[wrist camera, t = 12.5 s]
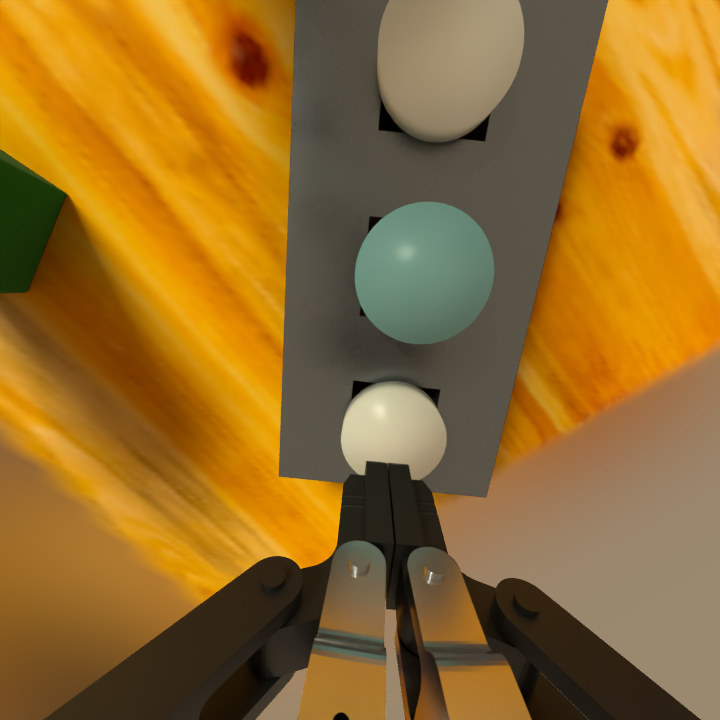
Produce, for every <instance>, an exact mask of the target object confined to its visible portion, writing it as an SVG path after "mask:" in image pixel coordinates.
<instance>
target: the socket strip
mask: <svg viewBox="0 0 720 720" xmlns="http://www.w3.org/2000/svg"><path fill="white" fill-rule="evenodd" d="M388 2H389V0H296V12H295V40H294V68H293V96H292V123H291V151H290V179H289V207H288V235H287V263H286V291H285V318H284V346H283V374H282V402H281V430H280V458H279V477H289V478H299V479H309V480H319V481H329V482H338V483H344V482H345V481H346V479H347V478H348V477H349V476H350V474H356V475H359V474H357V473H356V472H355V471H354V470H353V469H352V468H351V466H350V465H349V464H348V462H347V460H346V459H345V456H344V454H343V451H342V446H341V433H342V427H343V420H344V415H345V412H346V409H347V407H348V405H349V404H350V402H351V401H352V394H353V385H354V381H363V382H373V383H380V382H385V381H400V382H405V383H409V384H412V385H414V386H416V387H421V390H423V391H424V392H425V393H426V394H427V395H428V396H429V397H430V398H431V399H432V400H433V402H434V403H435V405H436V407H437V409H438V411H439V413H440V415H441V418H442V420H443V422H444V425H445V428H446V434H447V442H446V448H445V452H444V454H443V457H442V459H441V460H440V462H439V464H438V465H437V466H436V467H435V469H433V470H432V471H431V472H430V473H429V474H428V475H426V476H425V477H423V478H422V479H420V480H423V481H424V483H425V484H426V485H427V486H428V488H429V489H430V490H431V492H437V493H447V494H457V495H467V496H476V497H486V496H487V492H488V488H489V484H490V480H491V476H492V472H493V468H494V464H495V460H496V456H497V452H498V448H499V443H500V439H501V435H502V431H503V427H504V423H505V419H506V415H507V411H508V407H509V403H510V399H511V395H512V390H513V386H514V382H515V378H516V374H517V370H518V366H519V362H520V358H521V354H522V350H523V346H524V342H525V337H526V333H527V329H528V325H529V321H530V317H531V313H532V309H533V305H534V301H535V297H536V293H537V289H538V284H539V280H540V276H541V272H542V268H543V264H544V260H545V256H546V252H547V248H548V244H549V240H550V236H551V231H552V227H553V223H554V219H555V215H556V211H557V207H558V203H559V199H560V195H561V191H562V187H563V183H564V178H565V174H566V170H567V166H568V162H569V158H570V154H571V150H572V146H573V142H574V138H575V134H576V130H577V125H578V121H579V117H580V113H581V109H582V105H583V101H584V97H585V93H586V89H587V85H588V81H589V77H590V72H591V68H592V64H593V60H594V56H595V52H596V48H597V44H598V40H599V36H600V32H601V28H602V24H603V19H604V15H605V11H606V7H607V3H608V0H519V3H520V6H521V10H522V15H523V21H524V45H523V52H522V57H521V61H520V65H519V68H518V71H517V73H516V76H515V78H514V80H513V82H512V84H511V86H510V88H509V89H508V91H507V93H506V94H505V96H504V97H503V98H502V99H501V101H500V102H499V103H498V104H497V106H496V107H495V108H494V109H493V110H492V112H491V113H490V114H489V115H488V116H487V118H486V119H485V120H484V121H483V122H482V123H481V124H480V125H479V126H478V127H476V128H475V129H474V130H473V131H471V132H470V133H468V134H466V135H464V136H462V139H455V140H451V141H448V142H428V141H423V140H420V139H417V138H415V137H413V136H411V135H409V134H407V133H399V132H390V131H380V130H379V125H380V116H381V106H382V99H381V95H380V92H379V87H378V81H377V56H378V37H379V30H380V25H381V21H382V17H383V14H384V11H385V9H386V6H387V4H388ZM417 202H438V203H444V204H447V205H450V206H453V207H455V208H457V209H459V210H461V211H463V212H464V213H466V214H467V215H469V216H470V217H471V218H472V219H473V220H474V221H475V222H476V223H477V224H478V225H479V226H480V228H481V229H482V230H483V232H484V234H485V235H486V237H487V239H488V242H489V244H490V246H491V250H492V254H493V260H494V279H493V285H492V289H491V292H490V295H489V298H488V300H487V302H486V304H485V306H484V308H483V309H482V311H481V312H480V314H479V315H478V316H477V318H476V319H475V320H474V321H473V322H472V323H471V324H470V325H469V326H468V327H466V328H465V329H464V330H463V331H461V332H460V333H458V334H457V335H455V336H453V337H451V338H449V339H446V340H443V341H440V342H436V343H432V344H411V343H405V342H402V341H399V340H396V339H394V338H392V337H389V336H388V335H386V334H385V333H383V332H382V331H380V330H379V329H378V328H377V327H376V326H375V325H374V324H373V323H372V322H371V321H370V320H369V318H368V317H367V316H366V314H365V313H364V311H363V309H362V307H361V305H360V302H359V299H358V296H357V292H356V287H355V267H356V261H357V257H358V254H359V251H360V248H361V246H362V244H363V242H364V240H365V238H366V237H367V235H368V233H369V226H375V225H376V224H377V223H378V222H379V221H380V220H381V219H382V218H384V217H385V216H386V215H388V214H389V213H391V212H392V211H394V210H396V209H398V208H400V207H403V206H405V205H409V204H413V203H417Z"/></svg>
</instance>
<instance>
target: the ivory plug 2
mask: <svg viewBox="0 0 720 720" xmlns="http://www.w3.org/2000/svg"><path fill="white" fill-rule="evenodd" d="M523 45H524V21H523V15H522V10H521V6H520V3H519V0H389V2H388V4H387V6H386V9H385V11H384V14H383V17H382V21H381V25H380V30H379V37H378V56H377V81H378V87H379V92H380V95H381V99H382V102H383V104H384V106H385V108H386V110H387V112H388V114H389V115H390V120H391V126H392V129H393V132H399V133H407V134H409V135H411V136H413V137H415V138H417V139H420V140H423V141H428V142H448V141H451V140H455V139H458V138H460V137H462V136H464V135H466V134H468V133H470V132H471V131H473V130H474V129H475V128H476V127H478V126H479V125H480V124H481V123H482V122H483V121H484V120H485V119H486V118H487V116H488V115H489V114H490V113H491V112H492V110H493V109H494V108H495V107H496V106H497V104H498V103H499V102H500V101H501V99H502V98H503V97H504V96H505V94H506V93H507V91H508V89H509V88H510V86H511V84H512V82H513V80H514V78H515V76H516V73H517V71H518V68H519V65H520V61H521V57H522V52H523Z"/></svg>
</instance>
